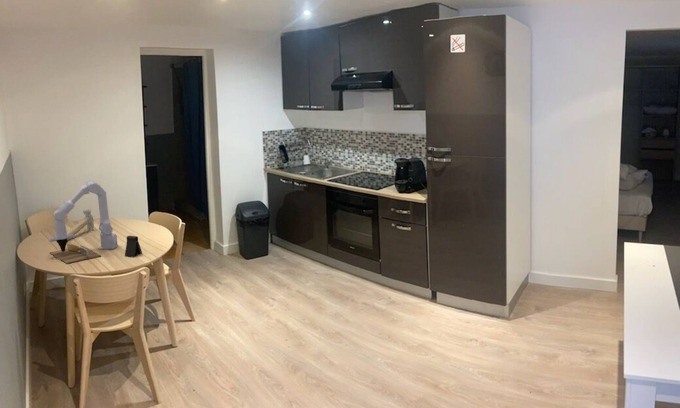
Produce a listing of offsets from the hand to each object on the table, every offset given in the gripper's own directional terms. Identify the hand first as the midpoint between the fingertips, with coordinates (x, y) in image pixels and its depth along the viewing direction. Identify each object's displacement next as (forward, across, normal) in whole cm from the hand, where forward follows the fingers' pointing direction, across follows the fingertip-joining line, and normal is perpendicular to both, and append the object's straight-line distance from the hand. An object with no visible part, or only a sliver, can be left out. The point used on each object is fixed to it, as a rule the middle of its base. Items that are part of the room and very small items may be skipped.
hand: (63, 251), depth 334 cm
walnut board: (+2, +5, -7) cm, 8 cm away
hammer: (+3, +24, +37) cm, 44 cm away
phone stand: (+2, +30, -30) cm, 43 cm away
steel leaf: (+1, +8, -12) cm, 14 cm away
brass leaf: (+1, +6, -2) cm, 7 cm away
